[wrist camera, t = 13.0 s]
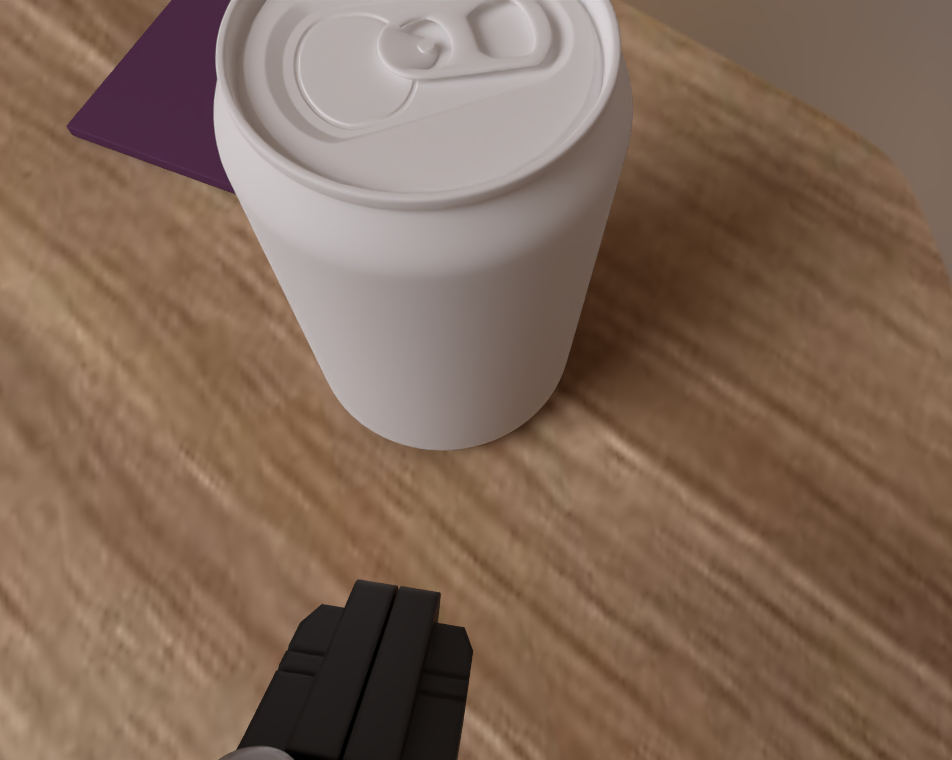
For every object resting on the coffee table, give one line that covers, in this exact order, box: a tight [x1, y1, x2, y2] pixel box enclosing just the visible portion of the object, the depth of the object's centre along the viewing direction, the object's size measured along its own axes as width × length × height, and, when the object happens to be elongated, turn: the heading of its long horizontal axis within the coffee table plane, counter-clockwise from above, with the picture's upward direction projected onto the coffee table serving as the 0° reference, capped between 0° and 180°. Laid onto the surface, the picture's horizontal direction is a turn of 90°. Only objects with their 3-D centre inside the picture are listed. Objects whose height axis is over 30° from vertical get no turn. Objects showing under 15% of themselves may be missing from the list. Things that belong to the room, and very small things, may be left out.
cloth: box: [67, 0, 236, 194], centre depth 28 cm, size 12×11×1 cm
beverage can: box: [214, 0, 633, 450], centre depth 18 cm, size 8×8×12 cm
